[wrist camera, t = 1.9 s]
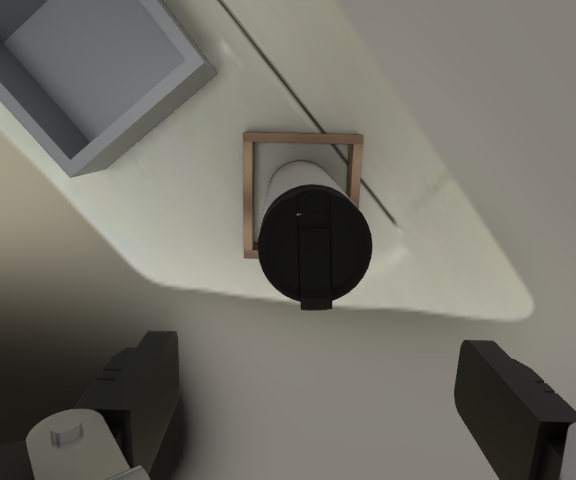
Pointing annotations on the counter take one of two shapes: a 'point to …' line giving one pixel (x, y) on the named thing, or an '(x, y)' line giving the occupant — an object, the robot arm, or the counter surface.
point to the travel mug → (312, 237)
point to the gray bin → (94, 74)
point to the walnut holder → (251, 137)
